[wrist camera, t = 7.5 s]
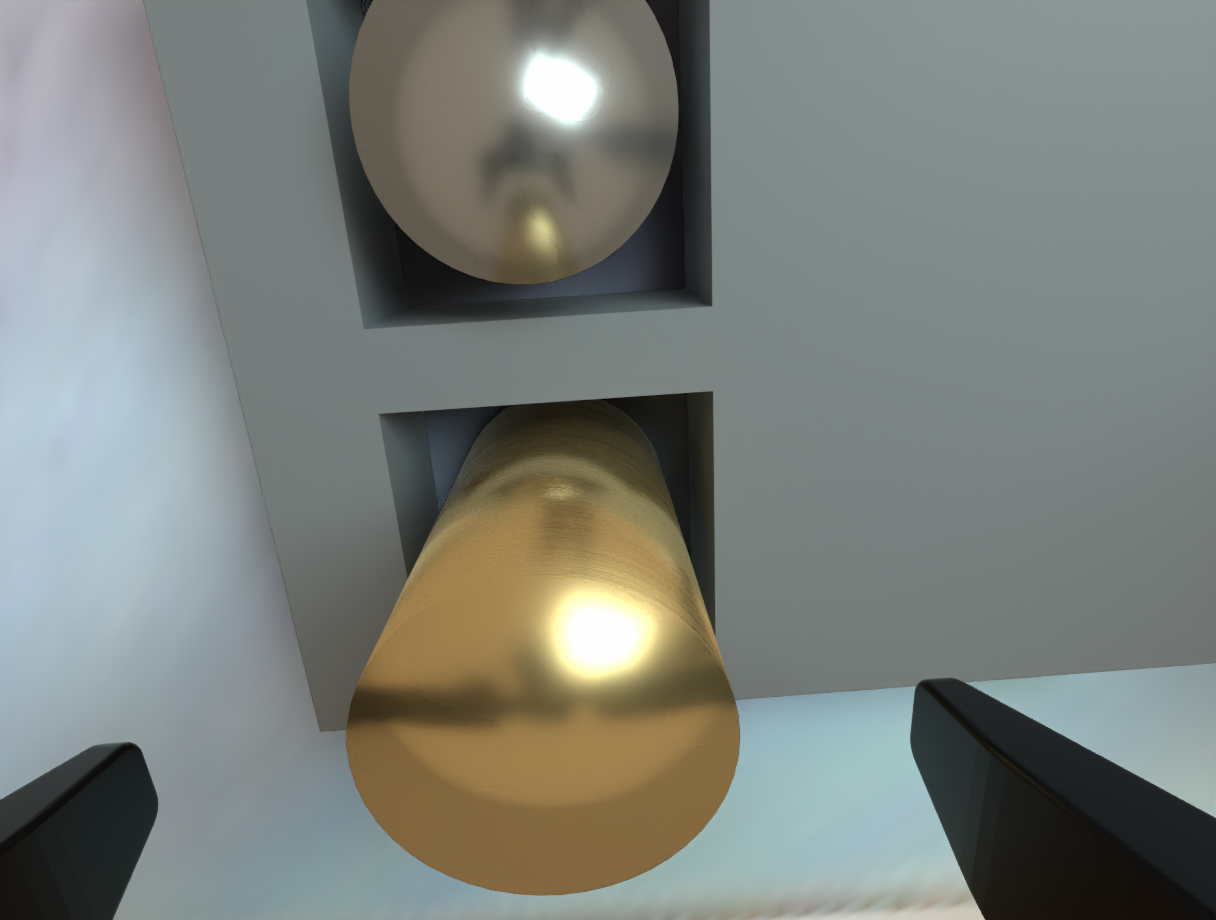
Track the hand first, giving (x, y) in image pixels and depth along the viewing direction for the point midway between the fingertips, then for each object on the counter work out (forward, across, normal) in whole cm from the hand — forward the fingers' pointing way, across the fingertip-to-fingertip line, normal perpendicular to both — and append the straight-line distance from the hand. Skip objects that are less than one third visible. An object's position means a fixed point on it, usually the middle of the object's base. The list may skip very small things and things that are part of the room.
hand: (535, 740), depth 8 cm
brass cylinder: (+8, 0, 0) cm, 8 cm away
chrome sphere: (+8, 0, -7) cm, 10 cm away
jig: (+8, -4, -4) cm, 9 cm away
